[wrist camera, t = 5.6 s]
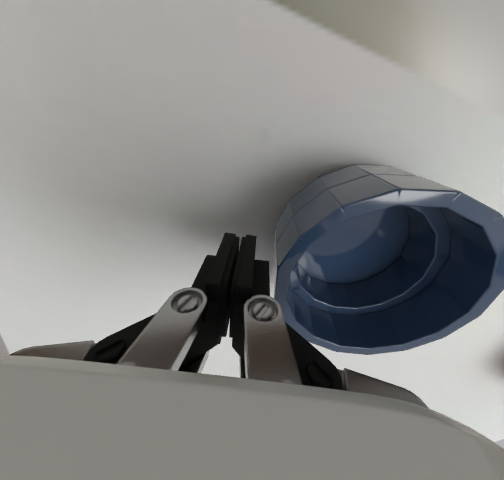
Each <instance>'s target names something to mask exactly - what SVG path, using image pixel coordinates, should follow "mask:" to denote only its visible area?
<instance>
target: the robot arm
mask: <svg viewBox="0 0 504 480" xmlns="http://www.w3.org/2000/svg"><path fill="white" fill-rule="evenodd" d="M256 237H257V236H253V235H246V237H242V240H241V245H240V249H239V237H237V236H236V234H233V233H225V234H224V237H223V239H222V242H221V244H220V247H219V249H218V252H217V254H216V256H213V255H207V256H206V258H205V260H204V262H203V264H202V266H201V268H200V270H199V272H198V274H197V277H196V279H195V281H194V283H193V285H192V287H189V288H183V289H180V290H178V291H176V292H174V293H173V294H172V295H171V296H170V297H169V298H168V300H167V301H166V302H165V303H164V305H163V306H162V307H161V308H160V310H159V311H158V312H157V313H156V314H154V315H152V316H150V317H148V318H146V319H144V320H141V321H139V322H137V323H135V324H133V325H131V326H129V327H127V328H125V329H123V330H120V331H118V332H116V333H114V334H112V335H110V336H108V337H106V338H104V339H103V340H101V341H99V342H98V343H94V341H83V342H73V343H64V344H54V345H44V346H35V347H29V348H25V349H21V350H19V351H17V352H15V353H12V354H10V355H4V356H0V480H504V449H503V448H502V447H500V446H499V445H497V444H496V443H494V442H493V441H491V440H490V439H488V438H487V437H485V436H483V435H482V434H480V433H478V432H477V431H475V430H473V429H471V428H470V427H468V426H466V425H464V424H462V423H460V422H458V421H456V420H454V419H452V418H449V417H447V416H445V415H443V414H440V413H438V412H436V411H433V410H431V409H429V408H428V407H427V406H426V405H425V403H424V402H423V401H422V400H421V399H420V398H419V397H417V396H416V395H415V394H414V393H412V392H410V391H408V390H406V389H404V388H402V387H399V386H396V385H393V384H390V383H387V382H384V381H381V380H378V379H375V378H372V377H370V376H367V375H364V374H361V373H358V372H355V371H352V370H349V369H346V368H344V370H343V371H342V370H339V369H337V368H336V367H335V366H334V365H333V364H332V363H331V361H330V360H328V359H327V358H326V357H325V356H324V355H323V354H322V353H320V352H319V351H318V350H317V349H316V348H315V347H314V346H312V345H311V344H310V343H309V342H308V341H307V340H306V339H304V338H303V337H302V336H301V335H300V334H299V333H298V332H296V331H295V330H294V329H293V328H292V327H291V326H290V325H288V324H287V323H286V322H285V318H284V314H283V311H282V308H281V305H280V304H279V303H278V301H277V300H275V299H274V298H272V297H270V282H269V261H263V260H254V259H255V248H256ZM229 319H230V334H229V337H232V338H233V339H232V347H233V348H234V349H235V351H236V352H237V353H238V354H239V356H240V359H239V363H240V378H236V377H227V376H218V375H209V374H201V372H202V370H203V368H204V365H205V363H206V360H207V358H208V355H209V350H210V349H212V348H213V347H214V346H216V345H217V344H220V342H221V337H222V336H223V337H226V335H227V330H228V324H229Z"/></svg>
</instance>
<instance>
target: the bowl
mask: <svg viewBox="0 0 504 480" xmlns="http://www.w3.org/2000/svg"><path fill="white" fill-rule="evenodd" d="M503 290H504V218H503V215H501V214H500V213H499V212H498V211H496V210H494V209H492V208H490V207H488V206H486V205H485V204H483V203H481V202H479V201H477V200H475V199H473V198H472V197H470V196H468V195H466V194H464V193H462V192H461V191H458V190H455V189H452V188H450V187H447V186H444V185H441V184H438V183H436V182H433V181H430V180H427V179H425V178H422V177H419V176H416V175H413V174H411V173H408V172H405V171H402V170H400V169H397V168H394V167H391V166H372V165H354V166H353V165H352V166H349V167H346V168H343V169H340V170H338V171H335V172H332V173H329V174H326V175H323V176H320V177H318V178H317V179H315V180H314V181H313V182H312V183H310V184H309V185H308V186H307V187H305V188H304V189H303V190H302V191H300V192H299V193H298V194H297V195H296V196H294V197H293V198H292V199H291V200H290V201H289V203H288V205H287V206H286V208H285V210H284V212H283V213H282V215H281V217H280V219H279V220H278V222H277V224H276V227H275V239H274V299H275V300H277V301H278V303H279V304H280V305H281V308H282V311H283V314H284V318H285V322H286V323H287V324H288V325H290V326H291V327H292V328H293V329H294V330H295V331H296V332H298V333H299V334H300V335H301V336H302V337H303V338H304V339H306V340H307V341H308V342H310V343H313V344H316V345H319V346H321V347H324V348H327V349H330V350H332V351H336V352H343V353H354V354H364V355H369V354H370V355H371V354H380V353H388V352H397V351H405V350H409V349H412V348H415V347H418V346H421V345H424V344H427V343H430V342H433V341H436V340H439V339H442V338H443V337H446V336H448V335H449V334H451V333H453V332H454V331H456V330H458V329H459V328H461V327H463V326H464V325H466V324H468V323H469V322H471V321H472V320H474V319H476V318H477V317H479V316H480V315H481V314H482V313H483V312H484V311H485V310H486V309H487V308H488V306H489V305H490V304H491V303H492V302H493V301H494V300H495V299H496V297H497V296H498V295H499V294H500V293H501V292H502V291H503Z"/></svg>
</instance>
